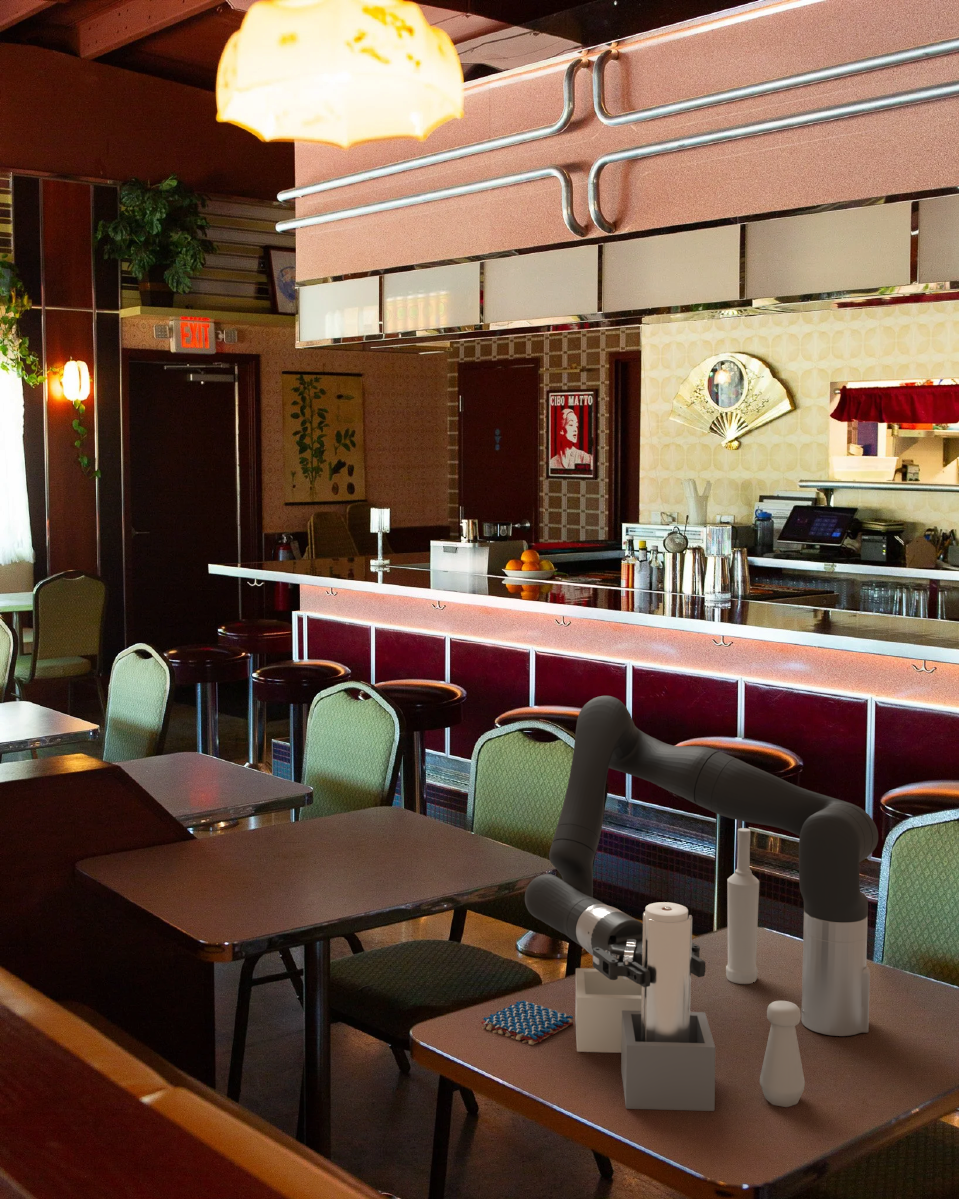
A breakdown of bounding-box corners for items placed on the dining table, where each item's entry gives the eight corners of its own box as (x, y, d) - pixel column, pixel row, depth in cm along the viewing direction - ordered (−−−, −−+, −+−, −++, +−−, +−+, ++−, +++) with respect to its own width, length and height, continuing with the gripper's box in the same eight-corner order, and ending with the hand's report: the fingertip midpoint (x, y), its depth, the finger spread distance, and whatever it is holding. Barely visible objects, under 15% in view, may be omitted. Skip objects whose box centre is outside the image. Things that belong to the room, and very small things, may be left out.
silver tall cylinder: (686, 1103, 171) (691, 917, 168) (637, 1097, 172) (640, 913, 170) (689, 1081, 177) (693, 901, 175) (641, 1075, 178) (645, 898, 176)
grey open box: (703, 1071, 180) (704, 1012, 179) (714, 1111, 168) (715, 1047, 168) (621, 1069, 180) (621, 1010, 180) (626, 1108, 169) (626, 1045, 168)
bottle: (722, 981, 213) (725, 832, 211) (728, 971, 218) (731, 824, 216) (754, 986, 211) (757, 835, 209) (760, 975, 216) (762, 827, 214)
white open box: (650, 1021, 197) (651, 969, 196) (657, 1053, 186) (657, 999, 185) (575, 1019, 198) (575, 968, 197) (576, 1051, 186) (577, 997, 186)
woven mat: (520, 1009, 203) (520, 996, 202) (575, 1027, 196) (576, 1014, 196) (477, 1030, 195) (477, 1017, 195) (533, 1050, 188) (533, 1036, 188)
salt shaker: (754, 1090, 174) (755, 996, 173) (795, 1088, 175) (797, 994, 174) (767, 1111, 168) (769, 1013, 167) (810, 1109, 169) (812, 1012, 168)
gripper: (569, 917, 183) (629, 955, 168) (655, 904, 189) (721, 939, 174) (568, 969, 183) (629, 1011, 169) (654, 954, 189) (720, 993, 175)
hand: (675, 974), depth 171 cm, fingers open, 8 cm apart
